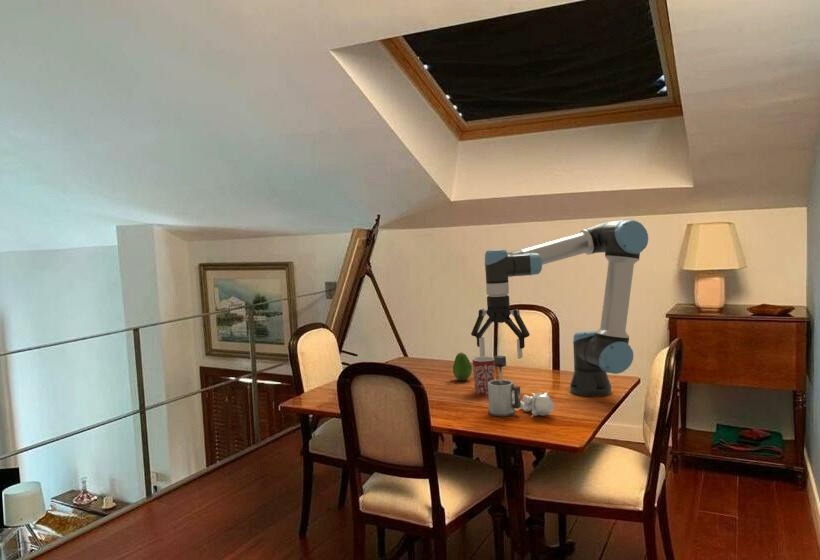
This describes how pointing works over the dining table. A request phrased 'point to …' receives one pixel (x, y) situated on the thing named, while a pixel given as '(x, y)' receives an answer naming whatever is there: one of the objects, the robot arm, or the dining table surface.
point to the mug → (483, 373)
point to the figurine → (538, 404)
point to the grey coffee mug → (503, 398)
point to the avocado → (462, 367)
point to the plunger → (500, 365)
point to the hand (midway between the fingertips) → (501, 357)
